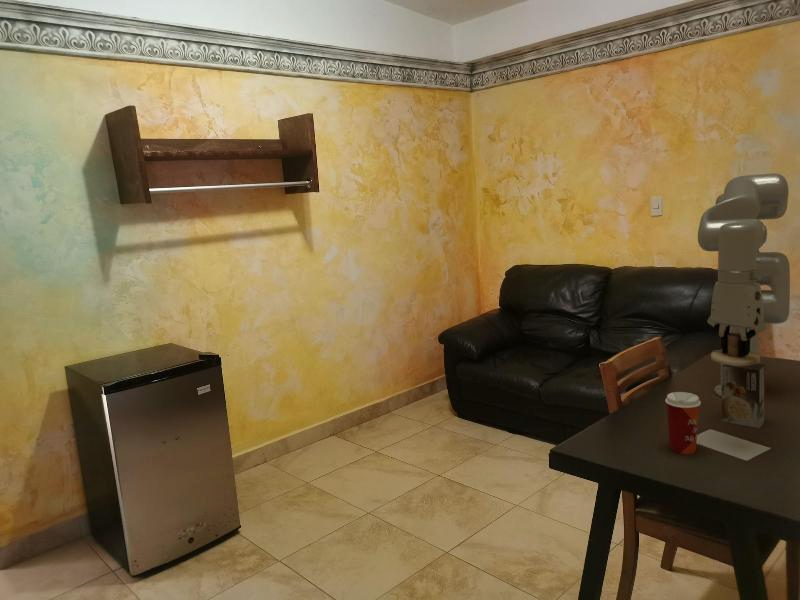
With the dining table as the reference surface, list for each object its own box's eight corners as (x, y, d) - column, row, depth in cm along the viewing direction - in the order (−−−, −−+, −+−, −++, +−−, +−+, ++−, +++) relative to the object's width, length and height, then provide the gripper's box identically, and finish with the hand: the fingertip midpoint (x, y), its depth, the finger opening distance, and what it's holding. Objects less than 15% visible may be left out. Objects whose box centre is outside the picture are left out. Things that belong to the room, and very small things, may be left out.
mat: (710, 431, 151) (710, 429, 151) (770, 450, 138) (770, 448, 138) (686, 442, 146) (686, 439, 146) (746, 463, 133) (746, 460, 133)
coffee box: (765, 422, 154) (766, 363, 151) (759, 430, 149) (761, 370, 146) (726, 415, 160) (727, 359, 157) (720, 423, 155) (720, 365, 152)
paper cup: (698, 460, 136) (699, 403, 134) (663, 455, 140) (662, 400, 138) (702, 447, 143) (702, 392, 140) (667, 442, 147) (667, 389, 144)
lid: (726, 350, 144) (726, 327, 142) (768, 358, 135) (769, 333, 134) (701, 359, 139) (702, 335, 138) (744, 368, 130) (744, 342, 129)
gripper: (783, 277, 128) (781, 357, 131) (711, 272, 142) (711, 344, 146) (764, 282, 124) (762, 365, 128) (693, 276, 139) (692, 350, 142)
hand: (735, 353), depth 137 cm, fingers closed on lid, 3 cm apart
